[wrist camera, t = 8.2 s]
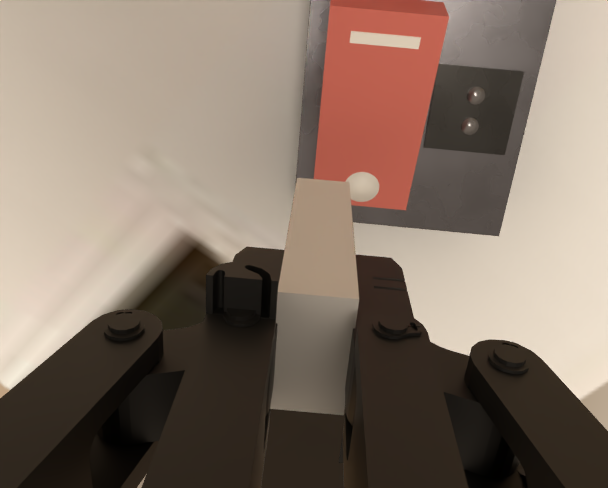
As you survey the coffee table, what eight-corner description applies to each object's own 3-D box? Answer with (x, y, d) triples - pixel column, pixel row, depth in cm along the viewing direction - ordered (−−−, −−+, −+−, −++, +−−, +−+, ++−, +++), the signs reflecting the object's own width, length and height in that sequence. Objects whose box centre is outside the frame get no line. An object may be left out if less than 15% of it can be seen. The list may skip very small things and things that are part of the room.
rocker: (331, -8, 25) (329, 6, 24) (443, 2, 25) (449, 17, 24) (313, 180, 32) (311, 201, 30) (403, 189, 32) (405, 211, 30)
